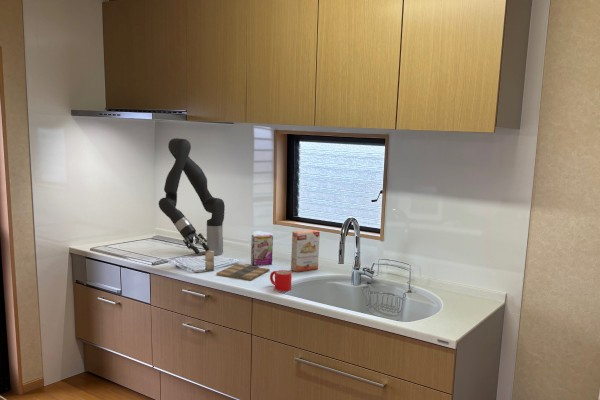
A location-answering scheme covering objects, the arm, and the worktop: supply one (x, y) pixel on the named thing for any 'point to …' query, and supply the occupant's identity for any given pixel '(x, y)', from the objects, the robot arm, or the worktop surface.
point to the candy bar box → (261, 249)
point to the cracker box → (305, 250)
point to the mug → (281, 280)
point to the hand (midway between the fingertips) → (203, 251)
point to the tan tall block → (209, 260)
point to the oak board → (243, 272)
